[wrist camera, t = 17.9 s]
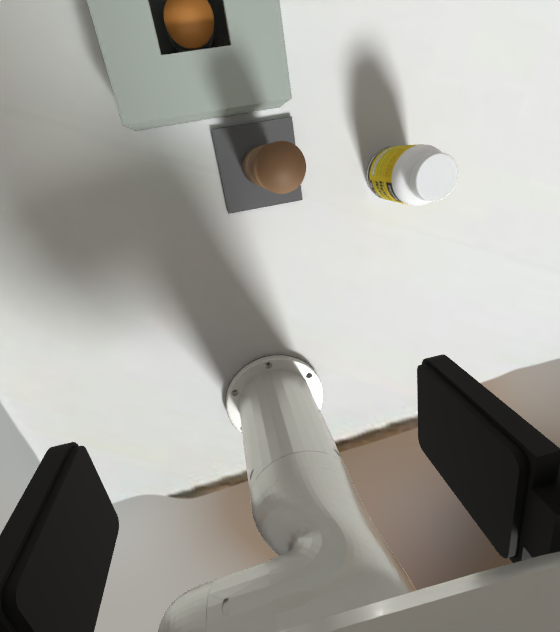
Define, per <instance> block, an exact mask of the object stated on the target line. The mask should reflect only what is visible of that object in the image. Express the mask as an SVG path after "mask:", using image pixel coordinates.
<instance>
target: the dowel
mask: <svg viewBox="0 0 560 632" xmlns="http://www.w3.org/2000/svg"><path fill="white" fill-rule="evenodd" d="M242 170H243V173H244V175H245V177H246V178H247V179H248V180H249V181H250V182H252V183H254V184H256V185H258V186H261V187H263V188H265V189H267V190H269V191H271V192H274V193H277V194H286V193H289V192H292V191H293V190H295V189H296V188H297V187H298V186H299V185H300V184H301V183H302V181H303V179H304V176H305V172H306V162H305V158H304V156H303V154H302V152H301V151H300V149H299V148H298V147H297V146H296V145H294V144H292V143H290V142H287V141H276V142H272V143H269V144H266V145H262V146H259V147H256V148H253V149H251V150H249V151H248V152H247V153H246V154H245V156H244V158H243V161H242Z"/></svg>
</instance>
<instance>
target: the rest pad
mask: <svg viewBox="0 0 560 632" xmlns="http://www.w3.org/2000/svg"><path fill="white" fill-rule="evenodd" d="M211 131H212V136H213V140H214V145H215V150H216V155H217V160H218V165H219V169H220V174H221V179H222V184H223V189H224V194H225V198H226V203H227V208H228V213H235V212H240V211H245V210H251V209H256V208H261V207H267V206H272V205H277V204H283V203H288V202H293V201H299V200H302V193H301V185H299V186H298V187H297V188H296V189H295V190H293V191H292V192H289V193H286V194H277V193H274V192H271V191H269V190H267V189H265V188H263V187H261V186H258V185H256V184H254V183H252V182H250V181H249V180H248V179H247V178H246V177H245V175H244V173H243V170H242V161H243V158H244V156H245V154H246V153H247V152H248V151H249V150H251V149H253V148H256V147H259V146H262V145H266V144H269V143H272V142H276V141H287V142H290V143H292V144H294V145H295V138H294V131H293V123H292V117H287V118H280V119H274V120H268V121H262V122H256V123H250V124H244V125H238V126H232V127H226V128H220V129H213V130H211Z"/></svg>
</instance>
